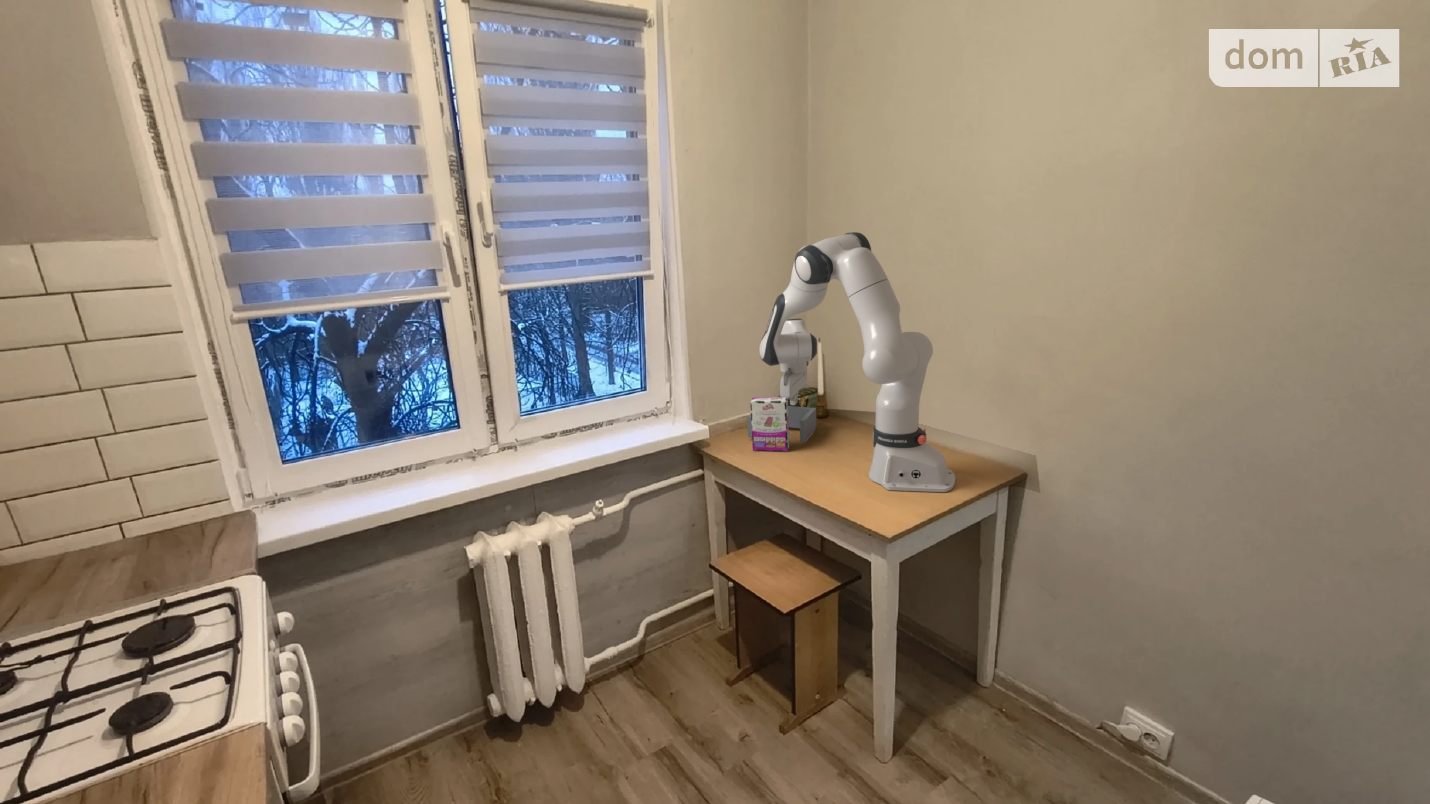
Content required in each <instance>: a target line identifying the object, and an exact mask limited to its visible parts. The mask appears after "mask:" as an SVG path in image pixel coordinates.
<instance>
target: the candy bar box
mask: <svg viewBox="0 0 1430 804" xmlns="http://www.w3.org/2000/svg"><path fill="white" fill-rule="evenodd" d="M788 406H789V399H788V397H779V396H778V397H777V396H776V397H775V396H774V397H773V396H771V397H769V396H768V397H767V396H765V397H763V396H762V397H761V396H759V397H757V396H756V397H752V398H751V400H750V414H751V423H752V438H751V439H752V440H751V441H752V451H753V452H779V453H781V452H783V453H784V452H785V453H787V452H788V451H789V448H790V427H789V420H788Z"/></svg>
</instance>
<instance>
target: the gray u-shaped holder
mask: <svg viewBox="0 0 1430 804" xmlns="http://www.w3.org/2000/svg"><path fill="white" fill-rule="evenodd" d="M746 417H747V420H746V421H747V437H748V438H751V439H752V423H751V413H750V414H748V415H747V416H746ZM788 420H789V428H793V429H794V428H795V429H799V442H800V443H806V442H807V441H808V440H809V438H810V437H811V435H812V434H813V433H814V432H815V430H817V408H816V407H809V406H808V407H807V406H795V405H788Z"/></svg>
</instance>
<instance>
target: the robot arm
mask: <svg viewBox="0 0 1430 804" xmlns="http://www.w3.org/2000/svg"><path fill="white" fill-rule="evenodd" d="M886 274H887V273H886V272H885V271H884V269H883V267H882V264H880V262H879V260H878V259H877V257H876V256H875V254H874V253H873V252H872V247H871V243H870V242H869V240H868V238H867V237H866V235H864V234H863V233H861V232H855V231H854V232H851V231H850V232H846V233H844V234H841V235H835V236H832V237H826V238H825V239H822V240H819V241H817V242H815V243H813V244H807V245H804V246H803V247H801V248H800V249H799V250H798V251H797V253H796V255H795V257H794V262H793V266H792V269H791V274H790V280H789V284H788V286H787V287H786V288H785V290H784V291H783V292H782V293H780V294H779V295H778V296H777V297H776V299H775V302H774V303H773V307H772V310H771V313H770V316H769V319H768V322H767V325H766V329H765V331H764V334H763V336H762V338H761V340H760V344H759V347H758V349H759V351H758V352H759V358H760V359H761V361H763V363H765V364H766V365H768V366H770V367H772V366H777V365H778V366H779V365H780V366H779V368H780V370H779V371H780V372H782V373H783V375H782V376H781V377H780V382H779V383H780V384H779V385H780V386H779V396H780V397H788V400H789V404H790V405H789V406H795V405H796V404H797V403H798V396H799V393H800V392H799V391H800V390H801V389H802V388H803V387H804V386H805V385H806V383H807V379H808V378H807V377H808V366H809V364H810V363H809V362H810V361H812V360H813V359H814V358H815V357H816V355H817V354H818V340H817V337H815V335H814V334H812V333H811V332H808V331H807V329H806V325H805V324H806V323H805V320H804V319H802V318H792V317H795V316H796V315H799V314H801V313H804V312H808V311H811V310H813V309H815V308H816V307H818V306H820V305H821V304H822V302H823V301H824V299H825V297H826V295H827V292H828V286H829V283H830V281H832V280H837V281H840V283H841V284H842V287H843V289H844V291H845V295H846V296H847V298H848V301H849V303H850V305H851V308H852V310H853V312H854V315H855V317H856V319H857V323H858V325H859V328H860V332H861V337H862V343H863V350H864V352H863V357H862V361H861V364H862V365H861V366H862V370H863V373H864V375H865V377H866V378H867V379H869V381H870V382H872V383H874V384H878V385H881V386H880V390H879V392H878V393H877V396H876V399H875V425H874V427H873V431H872V444H873V455H872V459H871V464H870V465H871V466H870V469H869V471H868V477H869V479H870V480H871V481H872V482H874V483H876V484H879V485H881V486H882V487H883V488H885V489H886V490H888V491H901V492H903V491H905V492H929V493H930V492H931V493H946V492H949V491H951V490H952V489H953V488H954V487H955V485H956V474H955V473H954V471H952V470H951V469H950V468H948V467H947V462H946V458H945V456H944V454H943V453H942V452H941V451H939V450H938V449H936V448H935V447H934V446H932V445H931V444H929V443H928V442H927V432H926V428H923V429H922V428H920V426H919V422H920V421H919V419H920V418H919V416H920V402H921V395H922V392H923V391H922V390H923V386H924V382H925V378H926V374H927V369H928V365H929V363H930V361H931V359H932V356H933V352H934V349H933V348H934V346H933V344H932V341H931V340H930V338H929V337H928V336H927V335H925V334H924V333H921V332H918V331H904V332H902V328H901V326H902V325H901V322H900V321H901V319H900V314H901V305H900V303H899V300H898V298H897V296H896V293H895V291H894V289H893V287H892V284H891V282H890V281H889V278H888V276H887V275H886Z"/></svg>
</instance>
